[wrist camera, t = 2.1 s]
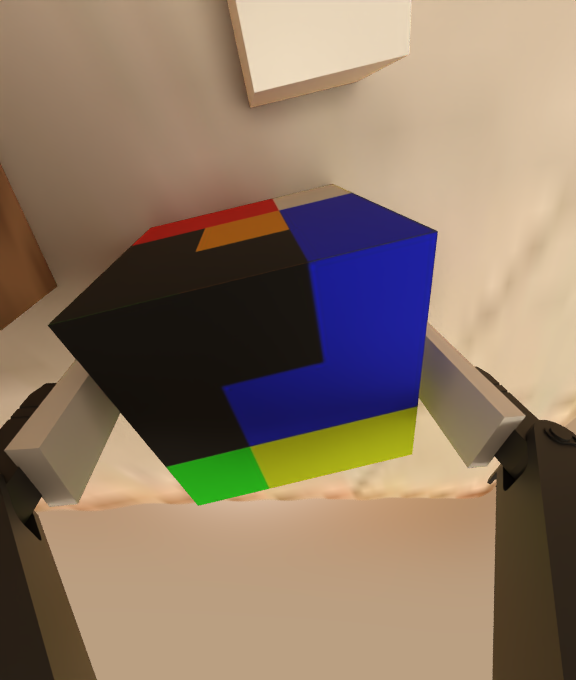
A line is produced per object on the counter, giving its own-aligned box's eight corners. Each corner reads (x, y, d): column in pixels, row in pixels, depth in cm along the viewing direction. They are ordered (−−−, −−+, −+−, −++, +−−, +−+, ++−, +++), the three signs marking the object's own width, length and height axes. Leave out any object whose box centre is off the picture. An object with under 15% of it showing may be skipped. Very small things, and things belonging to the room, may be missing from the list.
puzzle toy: (332, 183, 15) (437, 231, 7) (345, 333, 21) (412, 454, 13) (150, 227, 15) (47, 325, 7) (214, 365, 21) (198, 505, 13)
